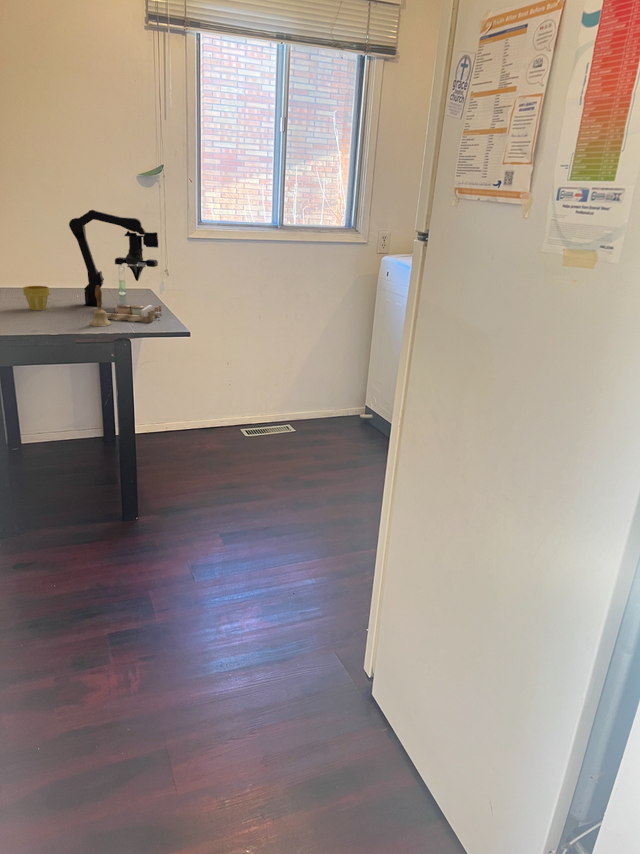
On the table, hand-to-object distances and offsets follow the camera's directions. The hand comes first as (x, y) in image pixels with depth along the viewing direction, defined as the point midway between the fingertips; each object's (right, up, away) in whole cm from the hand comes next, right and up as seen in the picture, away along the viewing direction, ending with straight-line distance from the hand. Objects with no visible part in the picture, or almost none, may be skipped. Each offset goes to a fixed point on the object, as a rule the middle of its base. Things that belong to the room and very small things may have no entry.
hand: (137, 280), depth 293 cm
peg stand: (+13, -21, -20) cm, 32 cm away
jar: (+1, -21, -20) cm, 29 cm away
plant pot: (-39, -17, -17) cm, 46 cm away
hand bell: (-4, -27, -37) cm, 46 cm away
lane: (+4, -21, -20) cm, 29 cm away
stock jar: (+7, -21, -20) cm, 30 cm away
